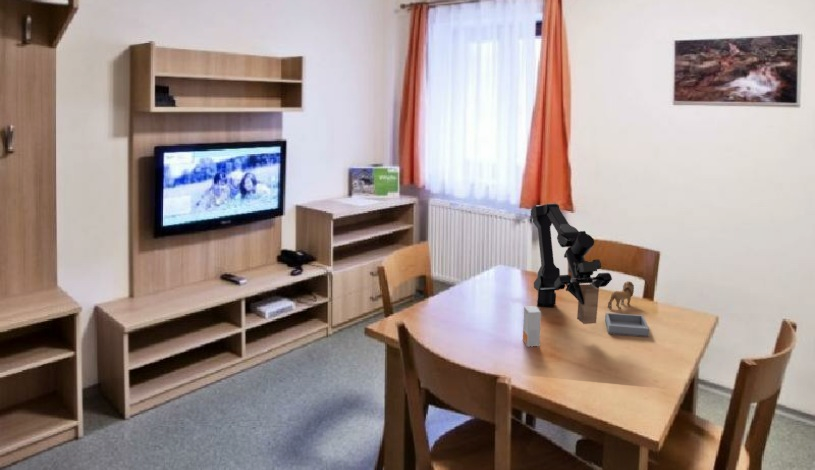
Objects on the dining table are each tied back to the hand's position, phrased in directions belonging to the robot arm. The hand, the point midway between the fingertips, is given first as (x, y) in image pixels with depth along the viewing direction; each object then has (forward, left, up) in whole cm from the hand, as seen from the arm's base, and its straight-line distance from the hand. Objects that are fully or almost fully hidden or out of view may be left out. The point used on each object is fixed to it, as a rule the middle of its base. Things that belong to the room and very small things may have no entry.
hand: (589, 303), depth 205 cm
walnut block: (-1, +1, -7) cm, 7 cm away
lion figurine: (+15, +37, -13) cm, 42 cm away
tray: (+14, +13, -12) cm, 23 cm away
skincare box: (-19, -8, -13) cm, 24 cm away
